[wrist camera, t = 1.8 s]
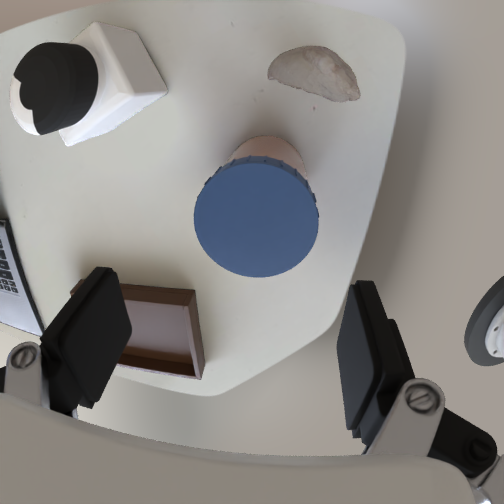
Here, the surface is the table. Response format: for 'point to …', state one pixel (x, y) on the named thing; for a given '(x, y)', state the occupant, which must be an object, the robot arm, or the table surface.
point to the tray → (162, 331)
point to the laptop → (15, 288)
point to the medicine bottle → (84, 84)
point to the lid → (256, 217)
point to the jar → (270, 151)
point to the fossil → (316, 73)
